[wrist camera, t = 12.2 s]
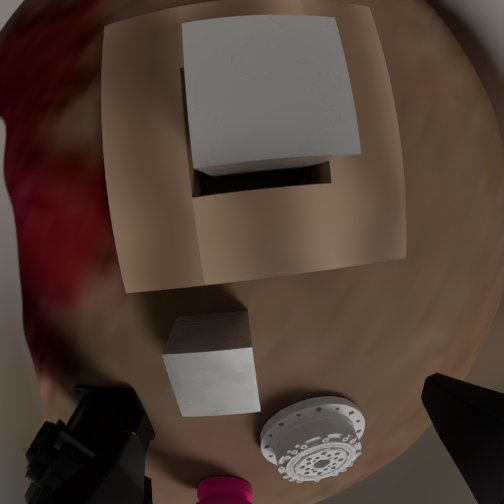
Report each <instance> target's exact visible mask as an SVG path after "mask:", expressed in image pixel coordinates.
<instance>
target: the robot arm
mask: <svg viewBox="0 0 504 504" xmlns="http://www.w3.org/2000/svg"><path fill="white" fill-rule="evenodd" d="M74 393H75V394H76V396H77V398H78V400H79V402H80V403H79V404H78V406H77V408H76V409H75V411H74V413H73V414H72V416H71V418H70V419H69V421H68V423H67V425H65V423H64V422H63V421H61V420H60V419H59V420H58V421H57V423H56V424H54V423H51V422H48V421H45V422H44V424H43V425H42V427H41V428H40V430H39V432H38V433H37V435H36V436H35V438H34V440H33V441H32V443H31V445H30V447H29V449H28V450H27V452H26V454H25V456H26V459H27V463H28V465H27V469H28V470H27V472H26V475H25V477H26V478H28V479H29V480H30V481H31V484H30V486H29V488H28V489H27V491H26V493H25V503H26V504H153V502H152V486H151V479H150V478H148V477H146V476H144V473H145V457H146V453H147V449H148V446H149V442H150V440H154V438H155V433H154V431H153V427H152V425H151V423H150V421H149V418H148V416H147V414H146V412H145V410H144V409H143V408H142V406H141V404H140V401H139V399H138V397H137V394H136V392H135V391H134V390H133V389H130V388H109V387H93V386H81V385H76V386H75V387H74ZM130 394H131V395H130ZM421 399H422V402H423V405H424V407H425V409H426V411H427V413H428V415H429V417H430V419H431V421H432V423H433V425H434V427H435V430H436V432H437V434H438V436H439V437H440V439H441V441H442V442H443V444H444V446H445V447H446V449H447V450H448V452H449V454H450V455H451V457H452V459H453V461H454V462H455V464H456V466H457V467H458V469H459V471H460V472H461V474H462V476H463V478H464V479H465V481H466V483H467V485H468V486H469V488H470V490H471V492H472V493H473V495H474V497H475V499H476V501H477V502H478V504H504V393H500V392H497V391H494V390H490V389H487V388H483V387H480V386H477V385H474V384H470V383H467V382H464V381H461V380H458V379H455V378H452V377H449V376H446V375H443V374H440V373H435V374H433V375H430V376H428V377H427V378H426V379H425V383H424V387H423V391H422V395H421Z"/></svg>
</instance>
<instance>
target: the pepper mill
mask: <svg viewBox="0 0 504 504" xmlns="http://www.w3.org/2000/svg"><path fill="white" fill-rule="evenodd" d="M197 497H198V499H199V500H200V501H199V502H197V503H196V504H252V503H250V501H251V500H252V487H251V485H250V484H249V483H248V482H247V481H245V480H243V479H240V478H236V477H230V476H215V477H209V478H206V479H204V480H202V481H201V482H200V483H199V484H198V491H197Z"/></svg>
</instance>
